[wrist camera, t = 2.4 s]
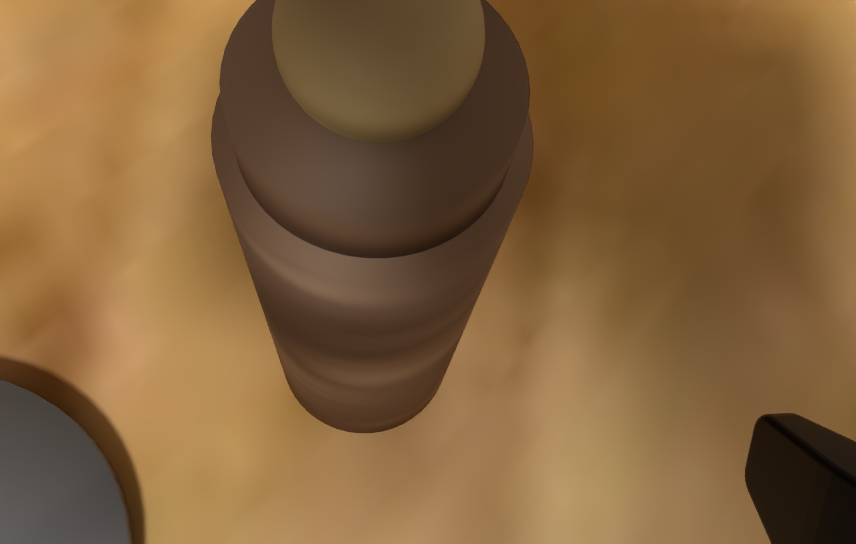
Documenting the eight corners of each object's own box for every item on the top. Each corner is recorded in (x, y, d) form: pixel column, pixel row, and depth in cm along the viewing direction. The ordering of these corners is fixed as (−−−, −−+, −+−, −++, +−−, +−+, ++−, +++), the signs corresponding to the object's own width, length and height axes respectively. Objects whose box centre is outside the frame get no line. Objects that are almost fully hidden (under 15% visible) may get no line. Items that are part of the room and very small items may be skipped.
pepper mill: (477, 329, 21) (672, -75, 8) (389, 466, 20) (456, 240, 7) (343, 246, 22) (327, -256, 9) (248, 373, 20) (54, -6, 7)
